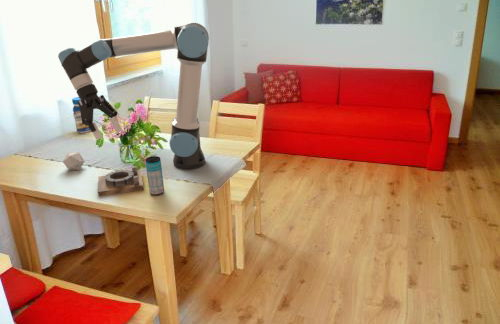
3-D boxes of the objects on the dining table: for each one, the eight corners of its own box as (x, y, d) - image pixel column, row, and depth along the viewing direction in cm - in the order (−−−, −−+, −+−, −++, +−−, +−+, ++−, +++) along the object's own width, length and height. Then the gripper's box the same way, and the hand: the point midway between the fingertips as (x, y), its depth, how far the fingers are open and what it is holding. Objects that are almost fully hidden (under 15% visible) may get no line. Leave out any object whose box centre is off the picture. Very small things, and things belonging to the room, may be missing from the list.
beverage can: (166, 190, 172) (162, 156, 166) (160, 196, 167) (156, 162, 161) (153, 188, 174) (149, 155, 168) (147, 195, 168) (142, 161, 162)
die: (73, 175, 190) (83, 157, 190) (56, 166, 190) (67, 147, 190) (80, 174, 198) (90, 156, 198) (64, 165, 198) (74, 147, 198)
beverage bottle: (94, 128, 252) (88, 96, 244) (86, 133, 244) (80, 100, 236) (81, 128, 253) (75, 96, 245) (73, 132, 246) (67, 99, 238)
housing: (141, 174, 187) (139, 164, 185) (143, 189, 173) (142, 178, 171) (99, 180, 183) (97, 170, 181) (98, 196, 168) (96, 185, 166)
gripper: (97, 87, 178) (120, 132, 181) (56, 94, 155) (83, 145, 158) (110, 80, 175) (133, 125, 178) (70, 86, 152) (97, 138, 155)
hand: (110, 135), depth 168 cm, fingers open, 13 cm apart
